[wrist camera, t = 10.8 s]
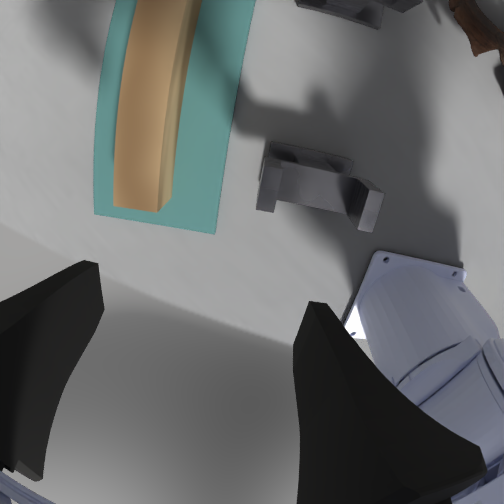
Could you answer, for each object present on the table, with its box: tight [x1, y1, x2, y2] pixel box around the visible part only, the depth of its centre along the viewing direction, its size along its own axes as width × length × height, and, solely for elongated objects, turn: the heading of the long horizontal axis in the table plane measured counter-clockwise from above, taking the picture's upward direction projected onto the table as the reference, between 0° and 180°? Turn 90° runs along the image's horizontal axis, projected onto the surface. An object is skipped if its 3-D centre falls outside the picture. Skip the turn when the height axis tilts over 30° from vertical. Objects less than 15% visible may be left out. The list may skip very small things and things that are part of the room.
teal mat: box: [94, 0, 256, 234], centre depth 14 cm, size 9×22×1 cm, turn 170°
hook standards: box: [256, 0, 423, 233], centre depth 12 cm, size 6×15×6 cm, turn 170°
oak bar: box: [113, 0, 202, 213], centre depth 13 cm, size 3×18×3 cm, turn 170°
